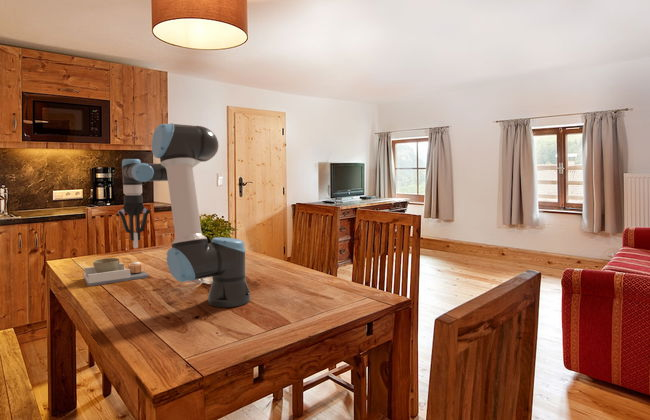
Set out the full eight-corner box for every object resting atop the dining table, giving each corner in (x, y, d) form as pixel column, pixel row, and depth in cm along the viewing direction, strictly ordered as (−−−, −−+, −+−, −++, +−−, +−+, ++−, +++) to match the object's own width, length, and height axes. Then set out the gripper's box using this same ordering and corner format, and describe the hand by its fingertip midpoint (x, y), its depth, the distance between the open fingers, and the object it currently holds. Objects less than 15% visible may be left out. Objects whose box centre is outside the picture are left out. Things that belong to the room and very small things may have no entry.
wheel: (145, 271, 181) (145, 263, 181) (130, 273, 177) (130, 265, 177) (142, 268, 186) (141, 260, 185) (127, 270, 182) (127, 262, 182)
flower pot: (124, 273, 180) (123, 257, 179) (112, 280, 170) (111, 263, 169) (102, 273, 180) (101, 257, 179) (88, 279, 170) (87, 262, 169)
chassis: (148, 277, 178) (147, 267, 178) (88, 286, 164) (87, 275, 164) (140, 270, 189) (140, 260, 189) (83, 278, 176) (83, 267, 175)
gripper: (146, 193, 185) (149, 244, 187) (115, 194, 177) (117, 247, 179) (151, 194, 179) (153, 247, 181) (118, 195, 171) (121, 250, 173)
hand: (135, 247), depth 180 cm, fingers closed
